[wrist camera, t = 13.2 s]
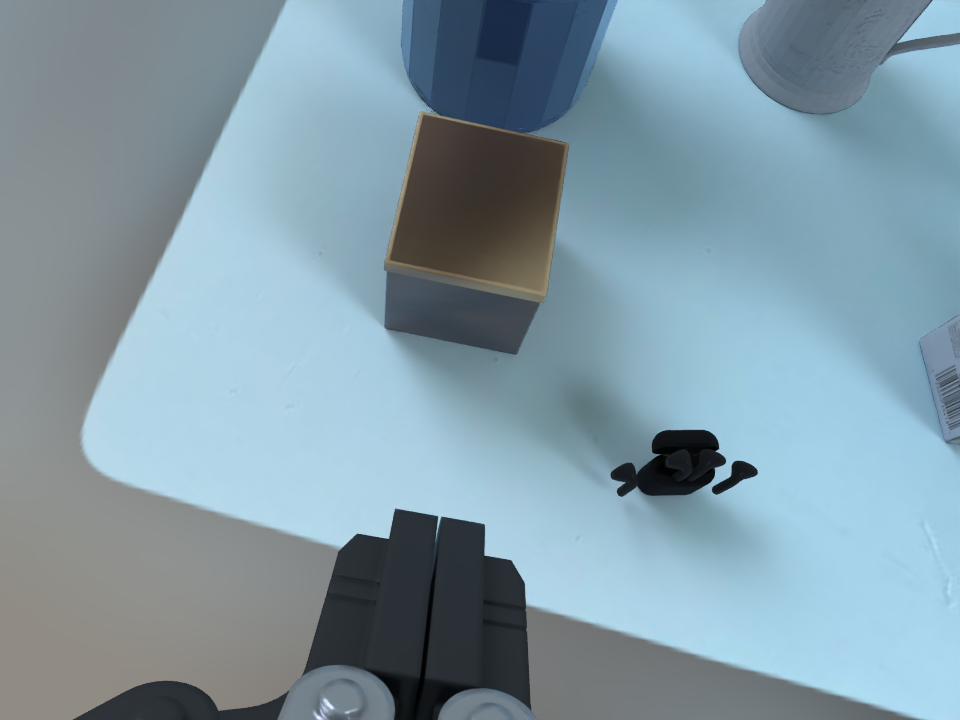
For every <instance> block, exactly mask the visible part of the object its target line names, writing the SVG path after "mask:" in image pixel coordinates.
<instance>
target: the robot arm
mask: <svg viewBox="0 0 960 720" xmlns="http://www.w3.org/2000/svg"><path fill="white" fill-rule="evenodd" d="M437 523H438V516H434V515H428V514H423V513H417V512H411V511H406V510H400V509H395V512H394V517H393V522H392V527H391V532H390V537H389V539H385V538H379V537H374V536H368V535H362V534H356V535H355V536H354V537H353V538H352V539H351V540H350V541H349V542H348V543H347V544H346V545H345V546H344V547H343V548H342V549H341V550H340V551H339V552H338V556H337V559H336V563H335V566H334V570H333V574H332V578H331V580H330V584H329V587H328V591H327V595H326V598H325V602H324V605H323V608H322V612H321V615H320V619H319V622H318V626H317V629H316V633H315V636H314V640H313V643H312V647H311V650H310V654H309V657H308V661H307V664H306V667H305V670H304V673H303V675H302V676H301V678H300V679H298V680H297V681H296V682H295V683H294V685H293V686H292V687H291V689H290V690H289V691H288V692H287V693H285V694H284V695H282V696H281V697H279V698H277V699H275V700H273V701H270V702H268V703H265V704H262V705H259V706H254V707H248V708H241V709H232V710H223V711H218V709H217V707H216V705H215V703H214V702H213V700H212V699H211V698H210V697H209V696H208V695H207V694H205V692H203V691H202V690H200V689H198V688H197V687H195V686H192V685H189V684H187V683H182V682H177V681H157V682H151V683H146V684H143V685H140V686H137V687H134V688H132V689H130V690H128V691H126V692H124V693H122V694H120V695H118V696H116V697H115V698H112V699H111V700H109V701H107V702H105V703H103V704H101V705H99V706H97V707H96V708H94V709H92V710H90V711H88V712H86V713H85V714H83V715H81V716H79V717H77V718H75V719H73V720H537V719H536V717H535V715H534V714H533V713H532V711H531V704H530V684H529V663H528V643H527V631H526V628H527V622H526V612H525V609H526V599H525V583H524V581H523V579H522V578H521V576H520V574H519V573H518V571H517V569H516V568H515V566H514V564H513V562H512V561H511V560H507V559H501V558H495V557H490V556H484V546H485V525H484V524H481V523H475V522H469V521H464V520H458V519H452V518H447V517H441V520H440V524H439V528H438V533H437V537H436V531H437ZM435 540H436V542H435Z"/></svg>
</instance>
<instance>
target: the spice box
mask: <svg viewBox="0 0 960 720" xmlns="http://www.w3.org/2000/svg"><path fill="white" fill-rule="evenodd" d="M568 149H569V144H568V143H565V142H561V141H556V140H551V139H547V138H542V137H537V136H533V135H528V134H524V133H519V132H514V131H510V130H505V129H500V128H496V127H491V126H486V125H482V124H477V123H473V122H468V121H463V120H459V119H454V118H449V117H445V116H440V115H436V114H431V113H426V112H420V113H419V117H418V121H417V126H416V130H415V134H414V139H413V143H412V147H411V151H410V156H409V160H408V164H407V168H406V173H405V177H404V181H403V185H402V190H401V194H400V198H399V203H398V207H397V211H396V215H395V220H394V224H393V228H392V232H391V237H390V241H389V245H388V250H387V254H386V258H385V262H384V270H385V271H387V278H386V302H385V325H384V327H385V328H386V329H391V330H396V331H401V332H406V333H411V334H416V335H421V336H426V337H431V338H436V339H441V340H446V341H451V342H456V343H461V344H466V345H471V346H476V347H481V348H486V349H491V350H496V351H501V352H506V353H511V354H517V352H518V350H519V348H520V346H521V344H522V342H523V339H524V337H525V335H526V333H527V331H528V328H529V326H530V324H531V322H532V320H533V317H534V315H535V313H536V311H537V309H538V307H539V304H540V303H543V302H544V300H545V298H546V296H547V289H548V283H549V276H550V269H551V263H552V256H553V249H554V243H555V236H556V229H557V223H558V216H559V209H560V202H561V196H562V189H563V182H564V176H565V169H566V162H567V156H568Z"/></svg>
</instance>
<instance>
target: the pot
mask: <svg viewBox="0 0 960 720" xmlns="http://www.w3.org/2000/svg"><path fill="white" fill-rule="evenodd" d="M617 1H618V0H576V1H570V2H564V3H552V4H537V3H524V2H518V1H512V0H403V16H402V35H401V47H402V51H403V60H404V66H405V69H406V72H407V75H408V77H409V79H410V81H411V83H412V85H413V87H414V88H415V90H416V91H417V92H418V94H419V95H420V96H421V98H422V99H423V100H424V101H425V102H426V103H427V104H428V105H429V106H430V107H432V108H433V109H434V110H435V111H436V112H438V113H439V114H441V115H442V116H445V117H449V118H454V119H459V120H463V121H468V122H473V123H477V124H482V125H486V126H491V127H496V128H500V129H505V130H510V131H514V132H519V133H525V132H530V131H534V130H537V129H540V128H543V127H545V126H547V125H549V124H551V123H553V122H554V121H556V120H558V119H559V118H561V117H562V116H563V115H564V114H565V113H567V112H568V111H569V110H570V109H571V108H572V106H573V105H574V104H575V103H576V101H577V100H578V98H579V96H580V95H581V93H582V90H583V89H584V87H585V86H586V85H587V82H588V79H589V77H590V74H591V71H592V69H593V66H594V63H595V60H596V58H597V55H598V52H599V50H600V47H601V44H602V41H603V39H604V36H605V33H606V31H607V28H608V25H609V22H610V20H611V17H612V14H613V12H614V9H615V6H616V3H617Z"/></svg>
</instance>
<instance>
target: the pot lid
mask: <svg viewBox="0 0 960 720" xmlns="http://www.w3.org/2000/svg"><path fill="white" fill-rule="evenodd" d="M512 1H518V2H524V3H537V4H552V3H564V2H570V1H576V0H512Z"/></svg>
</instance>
